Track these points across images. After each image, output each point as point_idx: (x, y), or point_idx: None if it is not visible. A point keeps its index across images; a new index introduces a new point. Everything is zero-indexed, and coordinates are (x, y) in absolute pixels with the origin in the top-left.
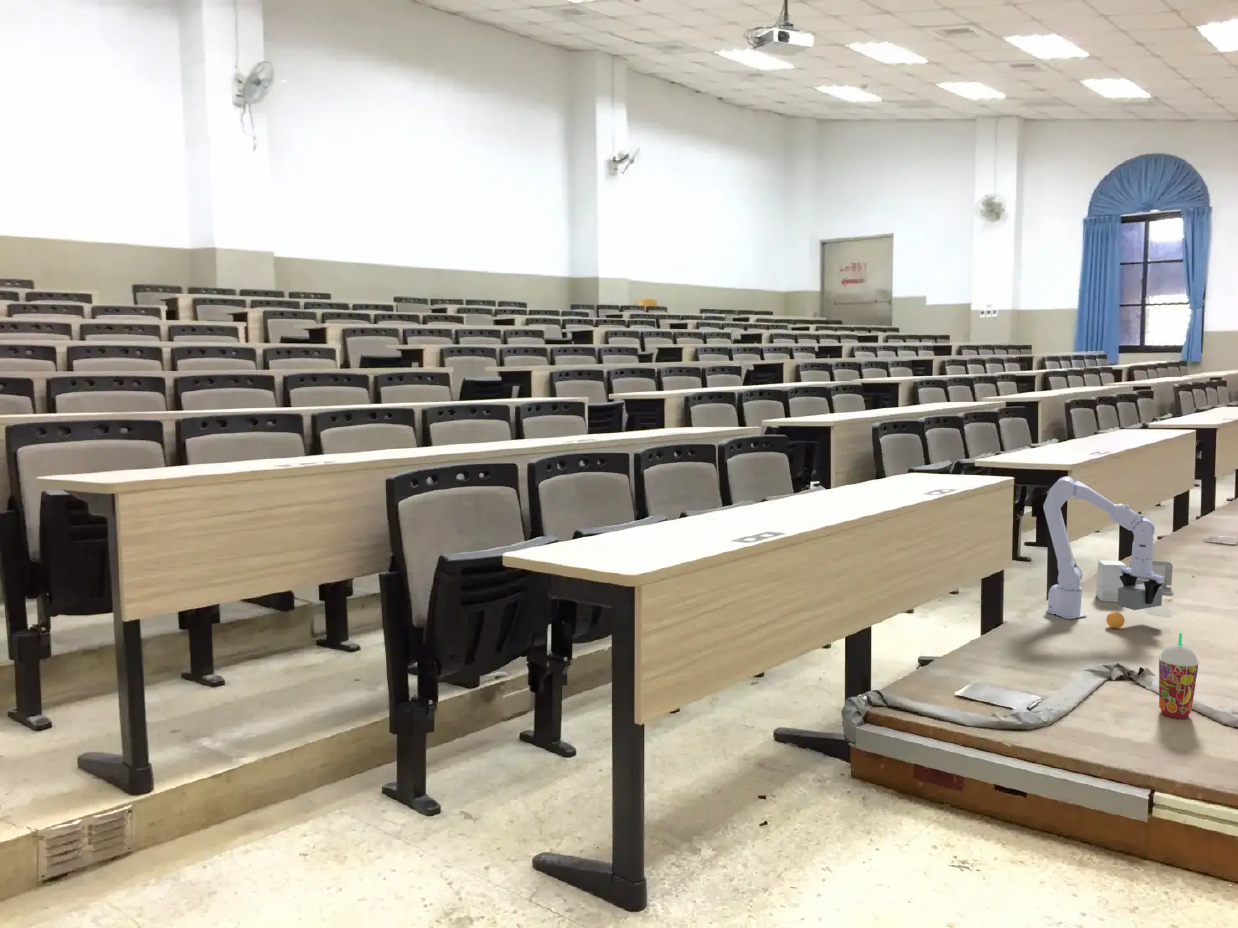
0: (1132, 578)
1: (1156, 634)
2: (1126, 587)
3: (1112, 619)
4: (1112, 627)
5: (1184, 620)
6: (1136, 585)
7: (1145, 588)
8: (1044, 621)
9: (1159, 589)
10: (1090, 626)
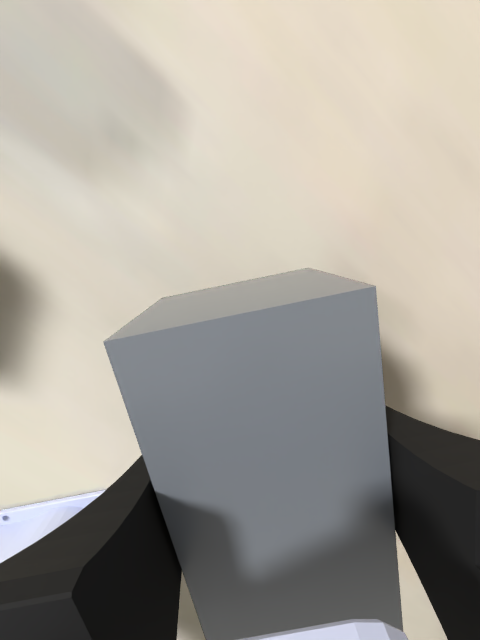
0: (132, 625)
1: (397, 382)
2: (232, 615)
3: None
4: None
5: (255, 58)
6: (183, 495)
7: (425, 580)
8: None
9: (374, 338)
10: None
